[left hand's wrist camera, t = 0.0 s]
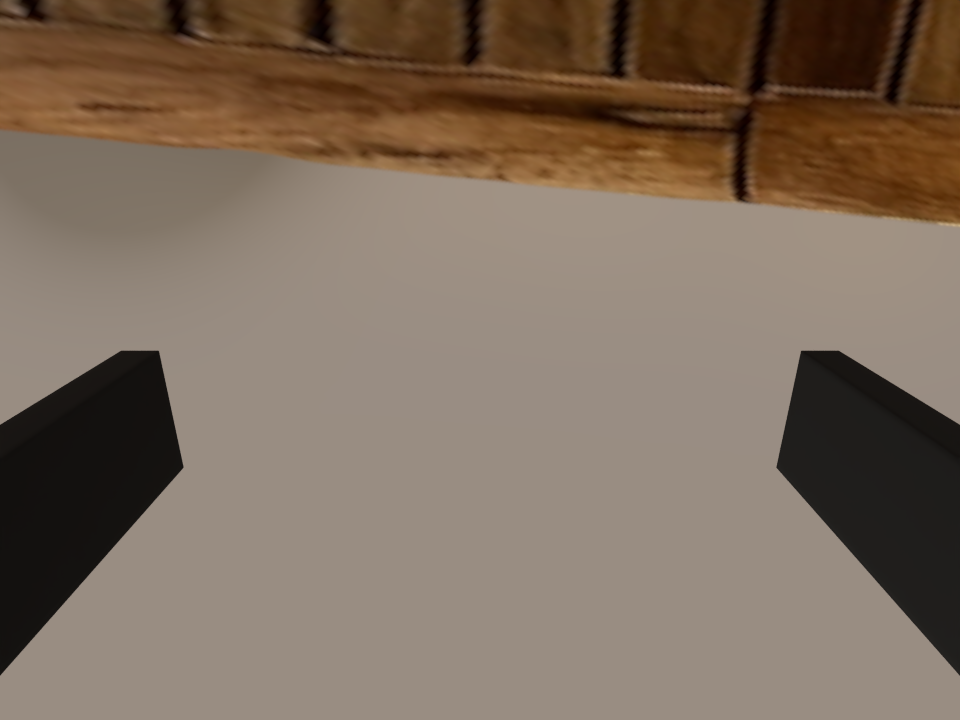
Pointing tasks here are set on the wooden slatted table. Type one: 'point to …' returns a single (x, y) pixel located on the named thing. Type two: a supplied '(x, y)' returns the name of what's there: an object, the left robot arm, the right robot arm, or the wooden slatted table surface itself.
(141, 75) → the wooden slatted table surface
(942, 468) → the left robot arm
